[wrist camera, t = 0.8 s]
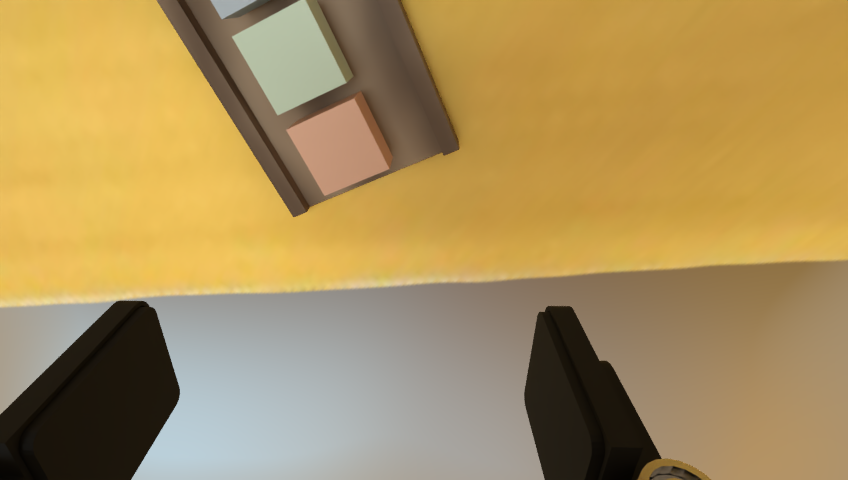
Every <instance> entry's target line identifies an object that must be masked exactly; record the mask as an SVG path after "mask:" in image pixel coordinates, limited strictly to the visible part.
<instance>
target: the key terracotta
mask: <svg viewBox="0 0 848 480" xmlns="http://www.w3.org/2000/svg"><path fill="white" fill-rule="evenodd" d="M286 131H287V132H288V134H289V136H290V138H291V139H292V141H293V143H294V144H295V146H296V148H297V150H298V151H299V153H300V155H301V157H302V158H303V160H304V162H305V163H306V165H307V167H308V169H309V170H310V172H311V174H312V175H313V177H314V179H315V181H316V182H317V184H318V186H319V187H320V189H321V191H322V193H323V194H324V196H326V195H328V194H331V193H333V192H335V191H338V190H340V189H343V188H345V187H347V186H350V185H352V184H355V183H357V182H359V181H362V180H364V179H367V178H369V177H371V176H374V175H376V174H379V173H381V172H383V171H386V170H388V169H390V165H391V162H392V159H393V156H392V154H391V152H390V150H389V148H388V146H387V144H386V142H385V140H384V138H383V135H382V133H381V131H380V129H379V127H378V125H377V123H376V121H375V119H374V117H373V115H372V113H371V111H370V109H369V107H368V105H367V103H366V101H365V98H364V96H363V94H362V92H361V91H359V92H357V93H355V94H353V95H350V96H348V97H346V98H344V99H342V100H340V101H338V102H335V103H333V104H331V105H329V106H327V107H325V108H323V109H320V110H318V111H316V112H314V113H312V114H310V115H308V116H305V117H303V118H301V119H299V120H297V121H296V122H295V123H293V124H292V125H291V126H290V127H289V128H288V129H287V130H286Z"/></svg>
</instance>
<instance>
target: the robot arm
mask: <svg viewBox="0 0 848 480" xmlns="http://www.w3.org/2000/svg"><path fill="white" fill-rule="evenodd" d="M179 395H180V389H179V385H178V382H177V378H176V375H175V372H174V369H173V366H172V362H171V359H170V356H169V352H168V349H167V346H166V343H165V339H164V336H163V333H162V329H161V327H160V323H159V320H158V317H157V313H156V311H155V309H154V308H152V307H149V305H148V304H147V303H146V302H144V301H117V302H116V303H114V304H113V305H112V306H111V307H110V308H109V309H108V310H107V311H106V312H105V313H104V314H103V315H102V316H101V317H100V318H99V319H98V320H97V321H96V322H95V323H93V324H92V325H91V327H89V329H87V330H86V331H85V332H84V333H83V334H82V335H81V336H80V337H79V338H78V339H77V340H76V341H75V342H74V343H73V344H72V345H71V346H70V347H69V348H68V349H67V350H66V351H65V352H64V353H63V354H62V355H61V356H60V357H59V358H58V359H57V360H56V361H55V362H54V363H53V364H52V365H51V366H50V367H49V368H48V369H46V370H45V371H44V373H42V375H40V376H39V377H38V378H37V379H36V380H35V381H34V382H33V383H32V384H31V385H30V386H29V387H28V388H27V389H26V390H25V391H24V392H23V393H22V394H21V395H20V396H19V397H18V398H17V399H16V400H15V401H14V402H13V403H12V404H11V405H10V406H9V407H8V408H7V409H6V410H5V411H4V412H3V413H2V414H0V480H131V479H132V477H133V475H134V474H135V472H136V470H137V469H138V467H139V466H140V464H141V462H142V461H143V459H144V457H145V456H146V454H147V452H148V450H149V449H150V447H151V446H152V444H153V442H154V441H155V439H156V437H157V436H158V434H159V432H160V431H161V429H162V428H163V426H164V424H165V423H166V421H167V419H168V418H169V416H170V414H171V413H172V411H173V410H174V408H175V406H176V404H177V402H178V400H179ZM524 396H525V406H526V410H527V414H528V418H529V422H530V425H531V429H532V433H533V436H534V440H535V444H536V448H537V452H538V456H539V459H540V463H541V467H542V470H543V474H544V478H545V480H711V479H710V478H709V477H708V476H707V475H705V474H704V473H702V472H701V471H699V470H698V469H696V468H694V467H693V466H691V465H688V464H686V463H683V462H681V461H677V460H672V459H662V458H661V457H660V455H659V453H658V451H657V449H656V447H655V445H654V444H653V442H652V440H651V438H650V436H649V434H648V432H647V430H646V428H645V427H644V425H643V423H642V421H641V419H640V417H639V416H638V414H637V412H636V410H635V408H634V406H633V404H632V403H631V400H630V399H629V397H628V395H627V393H626V391H625V389H624V388H623V385H622V384H621V382H620V380H619V378H618V376H617V374H616V372H615V371H614V369H613V367H612V366H611V364H610V363H609V362H607V361H599V359H598V357H597V355H596V353H595V351H594V350H593V348H592V346H591V344H590V342H589V340H588V338H587V336H586V334H585V332H584V330H583V328H582V326H581V324H580V322H579V320H578V318H577V316H576V314H575V312H574V310H573V309H572V307H570V306H548V307H547V308H546V310H545V312H539V314H538V316H537V322H536V328H535V333H534V339H533V345H532V351H531V358H530V363H529V369H528V375H527V380H526V386H525V393H524Z"/></svg>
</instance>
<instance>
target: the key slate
mask: <svg viewBox="0 0 848 480" xmlns="http://www.w3.org/2000/svg"><path fill="white" fill-rule="evenodd" d="M268 1H270V0H211V2H212V4H213V5H214V7H215V9H216V11H217V12H218V14H219V16H220V17H221V19H230V18H239V17H241V16H242V15H244V14H246V13H248V12H250V11H252V10H254V9H255V8H257V7H259V6H261V5H263V4H265V3H266V2H268Z"/></svg>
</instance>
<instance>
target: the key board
mask: <svg viewBox="0 0 848 480" xmlns="http://www.w3.org/2000/svg"><path fill="white" fill-rule="evenodd" d="M298 1H300V0H270V1H268V2H266V3H265V4H263V5H261V6H259V7H257V8H255V9H254V10H252V11H250V12H248V13H246V14H244V15H242V16H241V17H239V18H230V19H221V17H220V16H219V14H218V12H217V11H216V9H215V7H214V5H213V4H212V2H211V0H157V2H158V3H159V5H160V6H161V8H162V10H163V11H164V13H165V14H166V16H167V17H168V19H169V21H170V22H171V24H172V25H173V27H174V29H175V30H176V32H177V33H178V35H179V36H180V38H181V40H182V41H183V43H184V44H185V46H186V48H187V49H188V51H189V52H190V54H191V56H192V57H193V59H194V60H195V62H196V63H197V65H198V67H199V68H200V70H201V71H202V73H203V75H204V76H205V78H206V79H207V81H208V82H209V84H210V86H211V87H212V89H213V90H214V92H215V94H216V95H217V97H218V98H219V100H220V101H221V103H222V105H223V106H224V108H225V109H226V111H227V113H228V114H229V116H230V117H231V119H232V120H233V122H234V124H235V125H236V127H237V128H238V130H239V132H240V133H241V135H242V136H243V138H244V140H245V141H246V143H247V144H248V146H249V147H250V149H251V151H252V152H253V154H254V155H255V157H256V159H257V160H258V162H259V163H260V165H261V166H262V168H263V170H264V171H265V173H266V174H267V176H268V178H269V179H270V181H271V182H272V184H273V185H274V187H275V189H276V190H277V192H278V193H279V195H280V197H281V198H282V200H283V201H284V203H285V204H286V206H287V208H288V209H289V211H290V212H291V214H292V216H293V217H296V216H298V215H301V214H303V213H305V212H307V211H308V209H309V207H311V206H313V205H315V204H318V203H320V202H323V201H325V200H327V199H330V198H332V197H335V196H337V195H340V194H342V193H344V192H347V191H349V190H352V189H354V188H357V187H359V186H361V185H364V184H366V183H369V182H371V181H373V180H376V179H378V178H381V177H383V176H386V175H388V174H390V173H393V172H395V171H398V170H400V169H403V168H405V167H407V166H410V165H412V164H415V163H417V162H419V161H422V160H424V159H427V158H429V157H432V156H434V155H436V154H439V153H441V152H442V153H443V155H447V154H449V153H452V152H454V151H456V150H459V143H458V139H457V136H456V134H455V131H454V129H453V127H452V124H451V122H450V119H449V117H448V114H447V112H446V109H445V107H444V105H443V102H442V100H441V97H440V95H439V92H438V90H437V88H436V85H435V83H434V80H433V78H432V75H431V73H430V71H429V68H428V66H427V63H426V61H425V58H424V56H423V53H422V51H421V49H420V46H419V44H418V41H417V39H416V36H415V34H414V32H413V29H412V27H411V24H410V22H409V19H408V17H407V15H406V12H405V10H404V7H403V5H402V2H401V0H317V2H318V4H319V6H320V8H321V10H322V12H323V14H324V16H325V18H326V20H327V22H328V24H329V27H330V29H331V31H332V33H333V35H334V37H335V39H336V41H337V43H338V45H339V47H340V49H341V51H342V53H343V55H344V57H345V59H346V61H347V64H348V66H349V68H350V70H351V72H352V74H353V77H352V78H351V79H350V80H349V81H348V82H347V83H345V84H343V85H341V86H339V87H337V88H335V89H333V90H330V91H328V92H326V93H324V94H322V95H320V96H318V97H316V98H314V99H311V100H309V101H307V102H305V103H303V104H301V105H299V106H297V107H295V108H292V109H290V110H288V111H286V112H284V113H282V114H280V115H277V114H276V112H275V110H274V108H273V107H272V105H271V103H270V102H269V100H268V98H267V96H266V95H265V93H264V91H263V90H262V88H261V86H260V84H259V83H258V81H257V79H256V78H255V76H254V74H253V72H252V71H251V69H250V67H249V65H248V64H247V62H246V60H245V59H244V57H243V55H242V53H241V52H240V50H239V48H238V47H237V45H236V43H235V41H234V40H233V38H232V36H234V35H236V34H238V33H240V32H242V31H243V30H245V29H247V28H249V27H251V26H253V25H255V24H257V23H258V22H260V21H262V20H264V19H266V18H268V17H270V16H271V15H273V14H275V13H277V12H279V11H281V10H283V9H285V8H286V7H288V6H290V5H292V4H294V3H296V2H298ZM359 91H361V92H362V94H363V96H364V98H365V101H366V103H367V105H368V107H369V109H370V111H371V113H372V115H373V117H374V119H375V121H376V123H377V125H378V127H379V129H380V131H381V133H382V135H383V138H384V140H385V142H386V144H387V146H388V148H389V150H390V152H391V154H392V156H393V159H392V162H391V165H390V169H388V170H386V171H383V172H381V173H379V174H376V175H374V176H371V177H369V178H367V179H364V180H362V181H359V182H357V183H355V184H352V185H350V186H347V187H345V188H343V189H340V190H338V191H335V192H333V193H331V194H328V195H326V196H324V194H323V193H322V191H321V189H320V187H319V186H318V184H317V182H316V181H315V179H314V177H313V175H312V174H311V172H310V170H309V169H308V167H307V165H306V163H305V162H304V160H303V158H302V157H301V155H300V153H299V151H298V150H297V148H296V146H295V144H294V143H293V141H292V139H291V138H290V136H289V134H288V132H287V131H286V130H287V129H288V128H289V127H290V126H291V125H292V124H293V123H295V122H296V121H297V120H299V119H301V118H303V117H305V116H308V115H310V114H312V113H314V112H316V111H318V110H320V109H323V108H325V107H327V106H329V105H331V104H333V103H335V102H338V101H340V100H342V99H344V98H346V97H348V96H350V95H353V94H355V93H357V92H359Z"/></svg>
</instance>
